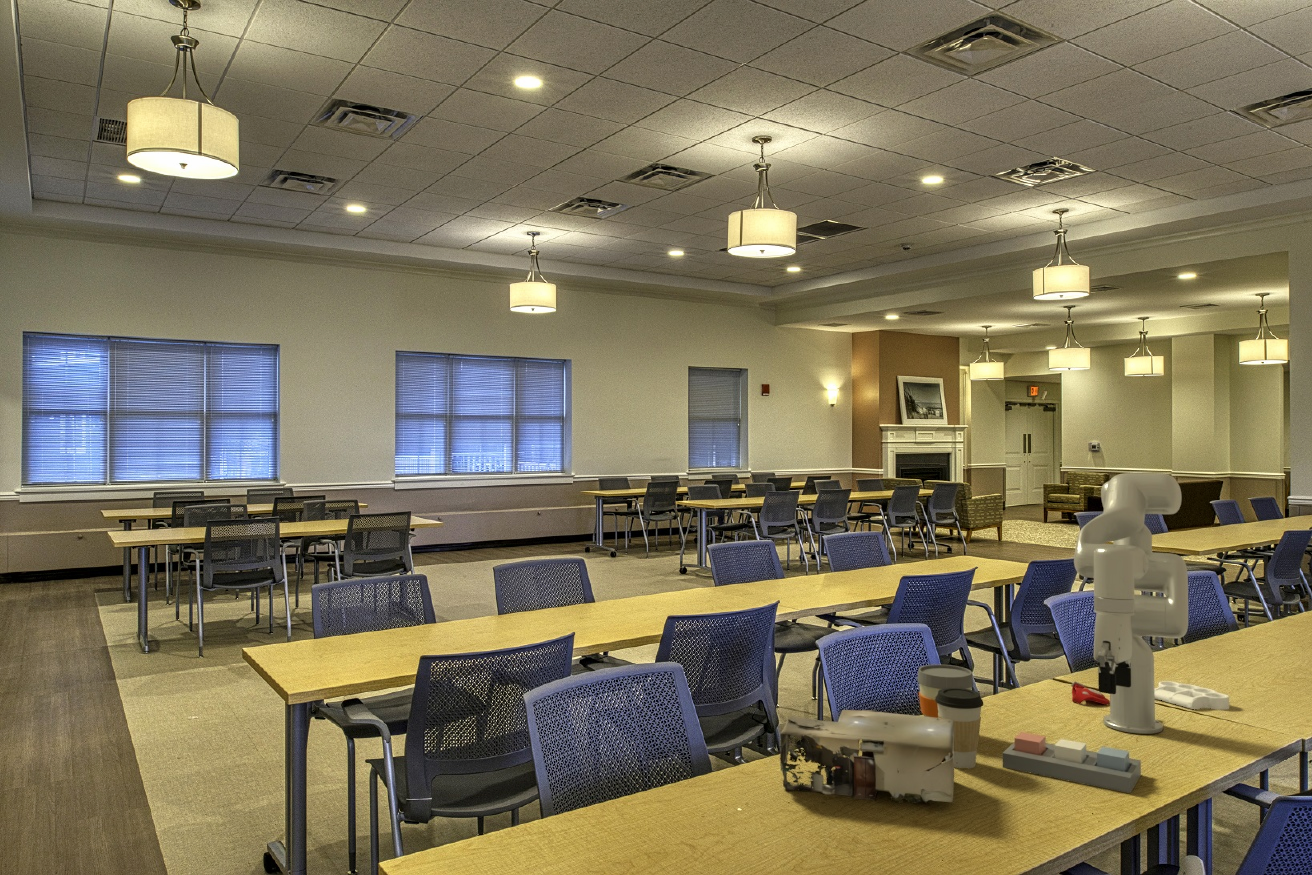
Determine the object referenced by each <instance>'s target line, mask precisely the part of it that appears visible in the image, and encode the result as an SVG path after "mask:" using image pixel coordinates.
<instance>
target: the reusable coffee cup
mask: <svg viewBox="0 0 1312 875" xmlns="http://www.w3.org/2000/svg"><path fill="white" fill-rule="evenodd" d="M917 683H918V685H919V692H918V698H919V705H920V706H919V707H920V712H921V713H922V714H923V715H922V716H923V717H934V718H938V705H937V703H936V702H935V698H936V696H937V694H938V691H939V690H940V689H944V688H964V689H969V690H972V687H973V686H974V679H973V672H972V670H970V669H968V668H965V667H962V666H958V665H951V664H928V665H922V666H919V668H918V671H917Z"/></svg>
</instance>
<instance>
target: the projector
mask: <svg viewBox="0 0 1312 875" xmlns="http://www.w3.org/2000/svg"><path fill="white" fill-rule="evenodd" d="M779 737H780V740H779V748H780V752H779V754H780V755H779V756H780V757H779V761H780V771H781V773H782V776H783V781H782V786H783V788H784V790H785V791H786V792H796V791H802V792H816V793H822V795H833V794H834V795H840V796H849V797H851V798H852V799H858V800H869V801H876V799H877V798H876V797H877V793H878V792H885V793H889V794H890V799H891V802H894V803H903V800H906V801H907V802H908V803H910V804H911V803H912V804H917V803H925V804H927V805H932V803H930V802H928V801H931V802H945V803H953V801H954V786H955V784H954V783H955V780H954V779H955V768H954V721H953V720H950V719H945V718H934V717H924V715H922V716H921V715H913V714H901V713H894V712H893V713H891V712H883V711H876V710H875V709H870V710H869V709H866V710H865V709H863V710H854V709H843V710H841V713H840V715H839V717H838V721H828V720H818V719H814V718H813V719H811V718H807V717H800V716H795V715H794V716H793V715H790V716H789V717H788V718H787V720H786V723H785V724H784V727H782V730H781V732H780V736H779ZM794 737H795V738H794ZM797 738H800V739H797ZM792 740H793V741H792ZM790 743H791V744H793V745H794V747H795V749H797V750H795V749H792V748H790ZM860 752H861V755H859V754H860ZM949 753H950V759H951V758H952V755H953V758H952V759H951V760H950V761H947V762H945V761H946V760H945V759H946V756H947V755H949ZM788 756H789V759H788ZM802 758H803V760H802ZM789 761H790V762H793V763H789ZM797 761H799V762H800V763H802V762H803V761H804V763H813V764H817V769H818V770H815V771H810V770H804V771H806V772H808V773H809V774H810V776H808V779H809V780H807V782H808V783H810V784H808V783H804V782H799V780H801V779H803V778H802V774H803V775H804V773H805V772H804V771H802V770H801V765H800V763H799V764H797V763H796V762H797ZM794 763H795V764H794ZM796 768H798V770H801V771H794V770H797V769H796ZM822 770H824V773H825V776H824V775H823V774H822ZM788 773H790V774H791V775H792V776H791V777H790V779H794V780H792V781H791V782H789V781H788V777H787V776H788ZM797 774H798V775H799V776H798V775H797ZM825 777H826V779H825ZM824 779H825V780H824ZM824 782H826V783H824ZM794 783H795V784H794ZM921 805H923V804H921Z"/></svg>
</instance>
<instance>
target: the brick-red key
mask: <svg viewBox="0 0 1312 875" xmlns="http://www.w3.org/2000/svg"><path fill="white" fill-rule="evenodd" d="M1046 741H1047V739H1046V735H1040V734H1035V733H1029V732H1024V731H1020V732H1019V733H1018V734H1017V735H1016V736H1015V737H1014V742H1015V751H1019V752H1025V753H1030V754H1035V755H1040V756H1042V755H1043V753H1044V752H1045V751H1046V743H1047V742H1046Z"/></svg>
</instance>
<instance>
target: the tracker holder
mask: <svg viewBox="0 0 1312 875" xmlns="http://www.w3.org/2000/svg"><path fill="white" fill-rule="evenodd" d="M1070 686H1071V687H1072V689H1071V695H1072V696H1071V698H1072V699H1071V701H1073V702H1074V701H1075V702H1074V703H1076V702H1077V703H1076V704H1078V703H1079V704H1078V705H1080V704H1082V703H1083V702H1084V701H1092V702H1095V703H1099V704H1102V705H1105V704H1108V705H1110V699H1108V698H1107V697H1106V696H1105V695H1104V694H1103V693H1102V692H1099V690H1098V691H1097V690H1095V689H1092V688H1090V687H1086V685H1084V684H1083V683H1079V682H1078V681H1073V682H1072V683H1071V685H1070Z"/></svg>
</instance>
